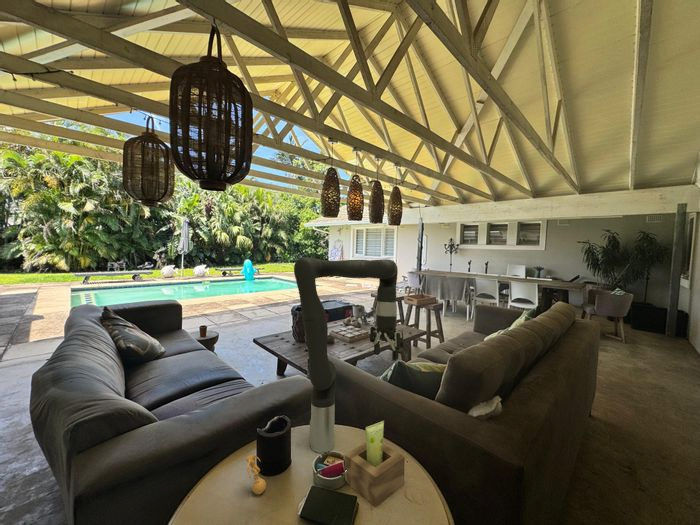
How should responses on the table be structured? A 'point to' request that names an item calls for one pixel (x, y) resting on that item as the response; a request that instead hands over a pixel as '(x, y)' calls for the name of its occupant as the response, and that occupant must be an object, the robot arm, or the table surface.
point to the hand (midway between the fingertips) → (385, 357)
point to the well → (375, 474)
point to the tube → (375, 443)
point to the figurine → (259, 483)
